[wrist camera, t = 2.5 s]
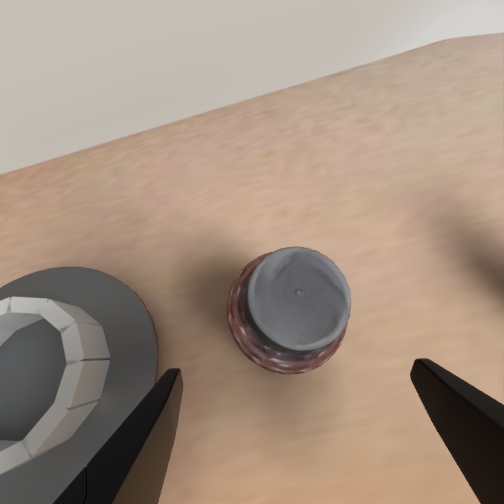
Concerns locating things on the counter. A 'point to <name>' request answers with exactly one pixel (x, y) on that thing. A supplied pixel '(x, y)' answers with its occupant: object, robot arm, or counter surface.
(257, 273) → the supplement bottle
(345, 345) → the counter surface
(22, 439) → the ring mount
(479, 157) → the counter surface
